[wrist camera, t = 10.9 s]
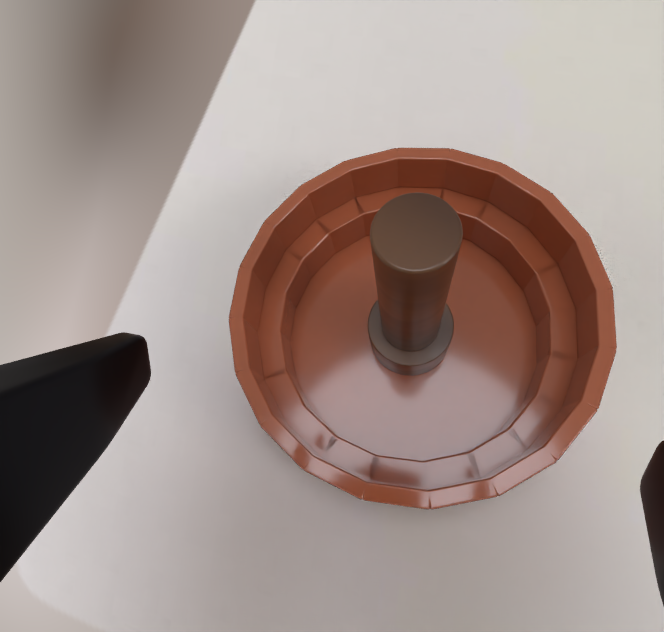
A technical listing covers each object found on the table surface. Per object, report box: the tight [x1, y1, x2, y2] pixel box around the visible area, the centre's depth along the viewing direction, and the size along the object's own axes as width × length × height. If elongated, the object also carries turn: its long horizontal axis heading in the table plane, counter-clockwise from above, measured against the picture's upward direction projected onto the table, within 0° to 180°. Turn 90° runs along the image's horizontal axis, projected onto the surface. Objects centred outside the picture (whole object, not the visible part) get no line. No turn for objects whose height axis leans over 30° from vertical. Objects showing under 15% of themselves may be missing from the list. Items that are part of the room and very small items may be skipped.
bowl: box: [229, 148, 617, 509], centre depth 20 cm, size 14×14×5 cm
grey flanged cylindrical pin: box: [368, 192, 463, 375], centre depth 17 cm, size 4×4×10 cm
